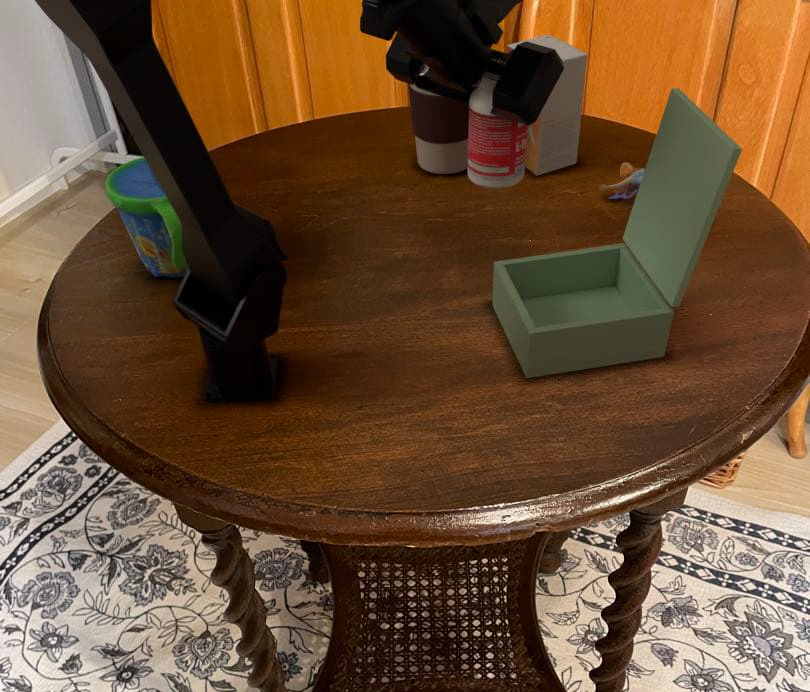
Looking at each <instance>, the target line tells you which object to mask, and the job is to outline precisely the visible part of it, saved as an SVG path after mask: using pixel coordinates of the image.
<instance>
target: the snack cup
mask: <svg viewBox="0 0 810 692" xmlns="http://www.w3.org/2000/svg"><path fill="white" fill-rule="evenodd" d="M105 189H106V193H107V196H108V199H109V200H110V202H111V203H112V205H113V206H114V207H116V209H117V211H118V213H119V216H120V218H121V220H122V223H123V224H124V226H125V228H126V231H127V233H128V235H129V237H130V240H131V242H132V243H133V245H134V248H135V250H136V252H137V255H138V256H139V258H140V260H141V262H142V264H143V265H144V267H145V268H146V269H147V271H149V272H150V273H151V274H152V275H153V276H154V277H156V278H158V277H164V278H172V279H173V278H181V277H182V278H184V276H185V274H186V272H187V269H188V265H187V262H186V259H185V256H184V254H183V251H182V248H181V223H180V220H179V218H178V216H177V215H176V213H175V211H174V209H173V208H172V206H171V204H170V202H169V200H168V199H167V197H166V195H165V193H164V192H163V190H162V188H161V186H160V184H159V183H158V181H157V179H156V177H155V176H154V174H153V172H152V170H151V168H150V167H149V165H148V163H147V161H146V160H145V158H144V156H142V157H139V158H135V159H132V160H130V161H127V162H125V163H123V164H121V165H120V166H118V167H116V168H115V169H114V170H113V171H112V172H111V173H110V174H109V175H108V176H107V178H106V181H105Z"/></svg>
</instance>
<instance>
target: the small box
mask: <svg viewBox="0 0 810 692" xmlns="http://www.w3.org/2000/svg"><path fill="white" fill-rule="evenodd" d="M525 41H528V42H531V43H534V44H538V45H541V46H545V47H548V48H552V49H555V50H556V52H557V53H558V55H559V56H560V58H561V59H562V61H563V64H564V70H563V72H562V74H561V76H560V78H559V79H558V81H557V83H556V85H555V87H554V89H553V91H552V92H551V94H550V96H549V98H548V100H547V102H546V104H545V105H544V107H543V109H542V111H541V113H540V115H539V117H538V118H537V120H536V122H534V123H532V124H530V125H529V126H528V130H527V145H526V159H525V169H527V170H529V171H530V172H531V173H532V174H534V176H541V175H544V174H547V173H550V172H553V171H557V170H561V169H563V168H567V167H570V166H573V165H575V164H577V162H578V152H579V143H580V132H581V124H582V123H581V122H582V114H583V103H584V94H585V93H584V92H585V82H586V73H587V64H588V63H587V62H588V53H586V52H585V51H582V50H580V49H578V48H576V47H574V46H573V45H572V44H570V43H569V42H567V41H563V40H560V39H559V38H557V37H554V36H553V35H551V34H544V35H540V36H536V37H532V38H528V39H524V40H521V41H518V42H513V43H511V44H507V45H506V53H507V54H508V53H510V52H511V51H512V50H513V49H515V48H516V46H517V45H518V44H521V43H523V42H525Z"/></svg>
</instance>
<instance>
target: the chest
mask: <svg viewBox="0 0 810 692" xmlns="http://www.w3.org/2000/svg"><path fill="white" fill-rule="evenodd" d="M492 274H493V275H492V277H493V279H492V281H493V282H492V303H491V304H492V307H493V310H494V312H495V315H496V316H497V318H498V320H499V322H500V325H501V327H502V330H503V331H504V334H505V336H506V339H508V342H509V344H510V347H511V349H512V351H513V352H514V355H515V357H516V359H517V361H518V364H519V365H520V368H521V370H522V372H523V374H524V376H525V379H531V378H537V377H543V376H551V375H556V374H562V373H569V372H576V371H582V370H588V369H594V368H601V367H607V366H613V365H620V364H621V365H622V364H627V363H633V362H634V363H635V362H639V361H646V360H653V359H659V358H665V355H666V350H667V346H668V341H669V337H670V332H671V327H672V322H673V319H674V315H675V314H674V313H675V311H674V309H673V307H671V306H670V304H669V303H668V301H667V300H666V299H665V297H664V296H663V294H662V293H661V292H660V290H659V289H658V287H657V286H656V285H655V283H654V282H653V280H652V279H651V278H650V276H649V275H648V273H647V272H646V271H645V269H644V268H643V266H642V265H641V264H640V262H639V261H638V259H637V258H636V257H635V255H634V254H633V252H632V251H631V250H630V248H629V247H628V245H627V244H626V243H625V242H624V243H623V242H622V243H617V244H616V243H615V244H609V245H608V244H607V245H601V246H595V247H587V248H582V249H573V250H567V251H561V252H554V253H547V254H546V253H545V254H539V255H532V256H524V257H518V258H510V259H503V260H498V261H493V273H492Z"/></svg>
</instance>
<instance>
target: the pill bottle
mask: <svg viewBox="0 0 810 692" xmlns="http://www.w3.org/2000/svg"><path fill="white" fill-rule="evenodd" d="M496 83H497V81H494V80H491V79H488V78H485V77H482V81H481V83H480V85H479V87H478V88H476V89H475V90H474V91H473V92H472V94H471V96H470V99H469V134H468V168H467V177H468V179H469V180H470V181H471V182H472V183H473V184H474V185H475V186H478V187H482V188H486V189H487V188H488V189H507V188H510V187H513V186H515V185H517V184H519V183H520V182H521V181H522V180H523V179H524V176H525V171H526V167H525V159H526V145H527V130H528V126H527V125H524V124H521V123H519V122H516V121H510V120H507V119H504V118H501V117H498V116H496V115H493V114H491V113H490V112H491V110H492V108H493V106H492V95H493V90H494V88H495V86H496Z"/></svg>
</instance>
